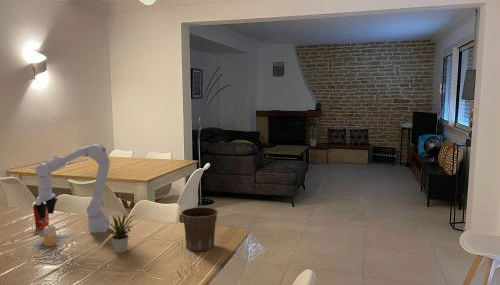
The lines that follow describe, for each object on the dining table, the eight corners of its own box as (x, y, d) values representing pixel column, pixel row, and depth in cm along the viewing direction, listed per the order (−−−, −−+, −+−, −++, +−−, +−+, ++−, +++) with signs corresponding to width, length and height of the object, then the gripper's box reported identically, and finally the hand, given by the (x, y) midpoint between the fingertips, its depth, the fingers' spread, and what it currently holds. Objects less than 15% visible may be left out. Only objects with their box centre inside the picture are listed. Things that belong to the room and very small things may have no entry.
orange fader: (56, 243, 172) (55, 233, 171) (53, 246, 169) (52, 235, 168) (47, 243, 172) (46, 233, 171) (44, 246, 169) (43, 235, 168)
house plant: (146, 246, 172) (145, 211, 170) (127, 258, 159) (126, 220, 157) (120, 242, 176) (119, 208, 175) (99, 254, 163) (97, 217, 162)
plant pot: (195, 238, 183) (195, 205, 181) (225, 243, 176) (224, 209, 174) (174, 249, 168) (173, 214, 166) (205, 256, 161) (205, 219, 159)
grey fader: (55, 236, 182) (55, 225, 181) (52, 238, 179) (52, 227, 178) (47, 236, 182) (46, 225, 181) (44, 238, 179) (43, 227, 178)
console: (74, 236, 184) (74, 234, 184) (56, 251, 167) (56, 248, 166) (45, 236, 184) (45, 234, 184) (24, 251, 166) (23, 248, 166)
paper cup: (43, 231, 192) (41, 204, 190) (30, 230, 193) (28, 203, 192) (54, 226, 199) (52, 200, 198) (41, 225, 201) (39, 199, 199)
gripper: (44, 184, 191) (46, 211, 192) (28, 191, 177) (30, 220, 178) (58, 184, 191) (60, 211, 193) (43, 191, 177) (45, 220, 178)
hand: (46, 215), depth 185 cm, fingers open, 7 cm apart
